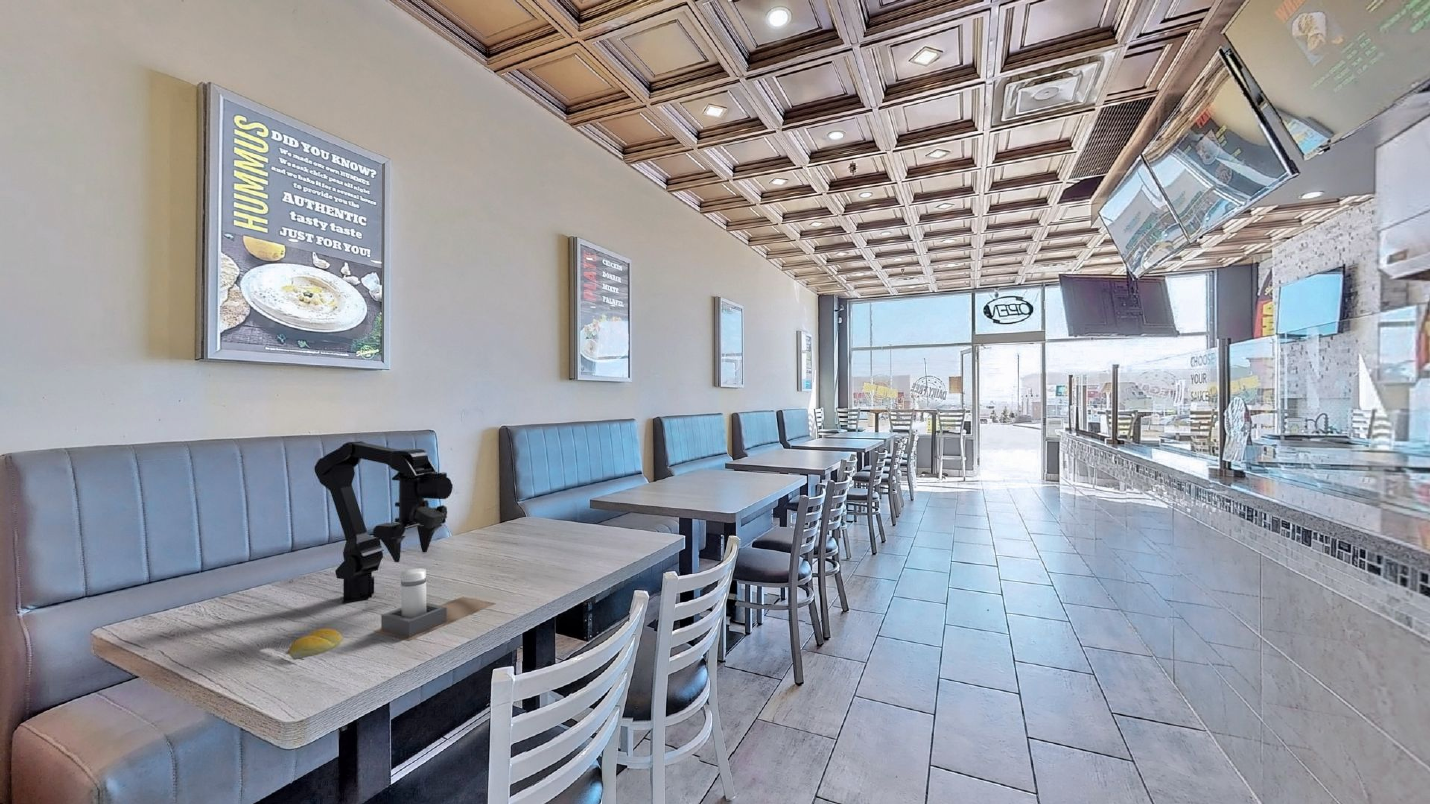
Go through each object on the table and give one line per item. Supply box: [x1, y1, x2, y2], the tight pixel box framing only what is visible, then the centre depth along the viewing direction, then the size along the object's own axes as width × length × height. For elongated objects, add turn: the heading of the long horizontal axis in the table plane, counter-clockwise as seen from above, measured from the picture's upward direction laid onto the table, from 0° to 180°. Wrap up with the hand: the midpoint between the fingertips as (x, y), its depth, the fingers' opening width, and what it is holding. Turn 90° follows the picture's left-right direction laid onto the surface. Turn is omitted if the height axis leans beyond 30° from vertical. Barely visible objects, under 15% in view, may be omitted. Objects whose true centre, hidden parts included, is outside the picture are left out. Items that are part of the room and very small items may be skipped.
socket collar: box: [380, 602, 447, 638], centre depth 123 cm, size 9×9×4 cm
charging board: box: [373, 596, 497, 642], centre depth 129 cm, size 24×12×1 cm, turn 156°
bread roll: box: [288, 628, 344, 660], centre depth 112 cm, size 8×9×4 cm
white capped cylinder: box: [400, 568, 427, 619], centre depth 123 cm, size 5×5×12 cm
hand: (411, 557), depth 140 cm, fingers open, 9 cm apart
